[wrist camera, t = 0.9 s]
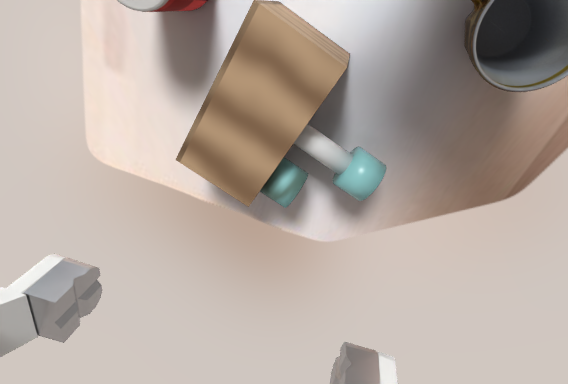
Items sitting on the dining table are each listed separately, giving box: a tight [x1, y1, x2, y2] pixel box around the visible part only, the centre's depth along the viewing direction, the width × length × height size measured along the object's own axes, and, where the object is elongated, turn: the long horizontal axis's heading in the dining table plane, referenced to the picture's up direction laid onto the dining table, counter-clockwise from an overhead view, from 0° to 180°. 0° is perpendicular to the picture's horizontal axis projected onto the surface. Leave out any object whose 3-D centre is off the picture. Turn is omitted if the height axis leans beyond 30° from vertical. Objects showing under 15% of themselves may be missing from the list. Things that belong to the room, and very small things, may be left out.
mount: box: [176, 0, 350, 208], centre depth 41 cm, size 20×15×11 cm
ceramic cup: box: [465, 0, 568, 92], centre depth 33 cm, size 13×10×10 cm
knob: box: [293, 124, 386, 201], centre depth 42 cm, size 6×14×6 cm, turn 57°
